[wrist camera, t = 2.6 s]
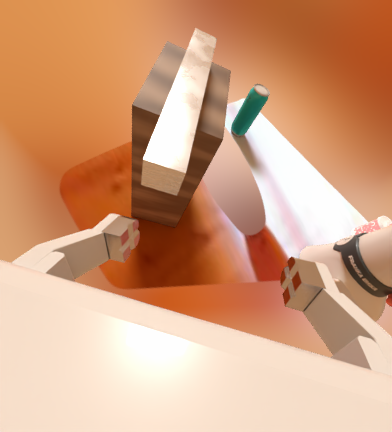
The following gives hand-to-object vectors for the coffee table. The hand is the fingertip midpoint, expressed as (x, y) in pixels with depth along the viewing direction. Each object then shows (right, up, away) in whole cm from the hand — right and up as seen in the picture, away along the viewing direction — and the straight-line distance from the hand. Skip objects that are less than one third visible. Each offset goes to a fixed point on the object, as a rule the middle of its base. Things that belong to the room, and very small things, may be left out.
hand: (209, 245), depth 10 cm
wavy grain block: (-9, +7, +36) cm, 38 cm away
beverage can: (+14, +32, +56) cm, 66 cm away
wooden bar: (-2, +14, +11) cm, 18 cm away
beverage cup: (+52, -5, +51) cm, 74 cm away
